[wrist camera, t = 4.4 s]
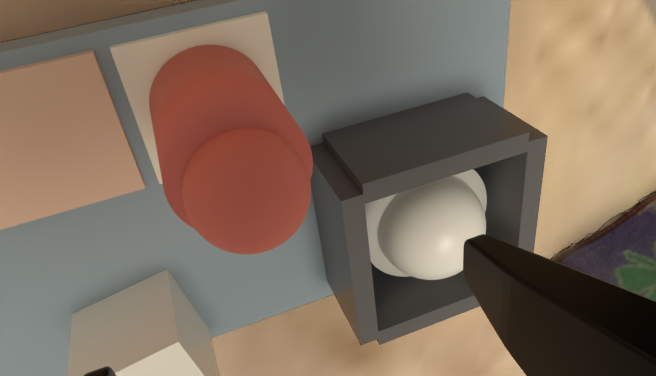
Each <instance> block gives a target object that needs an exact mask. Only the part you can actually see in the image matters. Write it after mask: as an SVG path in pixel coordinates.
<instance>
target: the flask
mask: <svg viewBox="0 0 656 376" xmlns="http://www.w3.org/2000/svg"><path fill="white" fill-rule="evenodd" d="M639 202H641V203H640V204H637V205H636V206H634V207H632V208H631V209H629V210H628V211H624V213H620V214H619V215H617V216H615V217H612V219H611V220H609V221H607V222H606V223H605V224H603V226H602V227H601V229H600V230H599V231H598V232H597V233H594V234H590V233H589V234H588V235H587V236H586V237H585V238H584V240H582V241H581V242H579V243H576V244H572V246H570V247H569V248H568V249H565V250H564V251H562V252H560V253H557V254H555V255H554V256H553V258H552V259H551V260H553V261H555V262H558V263H560V264H563V265H565V266H568V267H570V268H573V269H575V270H578V271H580V272H583V273H585V274H588V275H591V276H593V277H596V278H598V279H601V280H603V281H606V282H608V283H611V284H613V285H616V286H618V287H621V288H623V289H626V290H628V291H631V292H634V293H636V294H639V295H641V296H644V297H646V298H649V299H651V300H654V301H656V193H652V194H651V195H649V196H647V197H644V198H643V199H641V200H639Z"/></svg>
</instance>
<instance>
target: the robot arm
mask: <svg viewBox="0 0 656 376" xmlns="http://www.w3.org/2000/svg"><path fill="white" fill-rule="evenodd" d="M463 274H464V278H465V280H466V283H467V284H468V286H469V288H470V289H471V291H472V293H473V294H474V296H475V298H476V299H477V301H478V303H479V304H480V306H481V308H482V309H483V311H484V313H485V314H486V316H487V318H488V319H489V321H490V323H491V324H492V326H493V328H494V330H495V331H496V333H497V335H498V336H499V338H500V339H501V341H502V343H503V344H504V346H505V347H506V349H507V350H508V351H509V353H510V354H511V356H512V357H513V358H514V360H515V361H516V362H517V364H518V365H519V366H520V368H521V369H522V370H523V371H524V373H525V374H526V375H527V376H656V301H654V300H651V299H649V298H646V297H644V296H641V295H639V294H636V293H634V292H631V291H628V290H626V289H623V288H621V287H618V286H616V285H613V284H611V283H608V282H606V281H603V280H601V279H598V278H596V277H593V276H591V275H588V274H585V273H583V272H580V271H578V270H575V269H573V268H570V267H568V266H565V265H563V264H560V263H558V262H555V261H553V260H550V259H548V258H545V257H543V256H540V255H537V254H535V253H532V252H530V251H527V250H525V249H522V248H520V247H517V246H515V245H512V244H510V243H507V242H505V241H502V240H500V239H497V238H494V237H492V236H489V235H486V234H481V235H478V236H475V237H472V238H470V239H467V240H466V241H465V243H464V247H463ZM84 376H116V374H115V373H114V371H113V369H111V368H110V367H108V366H106V367H102V368H100V369H97V370H94V371H91V372H88V373H86V374H85V375H84Z"/></svg>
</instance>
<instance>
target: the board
mask: <svg viewBox="0 0 656 376" xmlns="http://www.w3.org/2000/svg"><path fill="white" fill-rule="evenodd" d="M509 14H510V0H196V1H192V2H187V3H182V4H178V5H173V6H168V7H164V8H159V9H155V10H150V11H145V12H141V13H136V14H131V15H127V16H122V17H118V18H113V19H108V20H104V21H99V22H94V23H90V24H85V25H80V26H76V27H71V28H67V29H62V30H57V31H53V32H48V33H43V34H39V35H34V36H30V37H25V38H20V39H16V40H11V41H6V42H2V43H0V376H67V375H68V361H69V347H70V334H71V320H72V314H74V313H76V312H78V311H80V310H82V309H84V308H86V307H88V306H90V305H93V304H95V303H97V302H99V301H101V300H103V299H105V298H107V297H109V296H111V295H114V294H116V293H118V292H120V291H122V290H124V289H126V288H128V287H130V286H132V285H135V284H137V283H139V282H141V281H143V280H145V279H147V278H149V277H151V276H153V275H156V274H158V273H160V272H162V271H164V270H166V269H168V271H169V272H170V274H171V275H172V277H173V278H174V279H175V281H176V282H177V284H178V285H179V287H180V288H181V289H182V291H183V292H184V294H185V295H186V297H187V298H188V300H189V301H190V302H191V304H192V305H193V307H194V308H195V310H196V311H197V313H198V314H199V315H200V317H201V318H202V320H203V321H204V323H205V324H206V325H207V327H208V328H209V331H210V336H211V338H213V337H215V336H218V335H221V334H224V333H227V332H229V331H232V330H235V329H238V328H241V327H244V326H246V325H249V324H252V323H255V322H258V321H260V320H263V319H266V318H269V317H272V316H274V315H277V314H280V313H283V312H286V311H288V310H291V309H294V308H297V307H300V306H302V305H305V304H308V303H311V302H314V301H317V300H319V299H322V298H325V297H328V296H331V295H333V294H334V293H333V291H332V289H331V288H330V286H329V284H328V282H327V276H326V270H325V264H324V259H323V253H322V247H321V242H320V236H319V230H318V224H317V219H316V213H315V207H314V201H313V196H312V190H311V198H310V204H309V208H308V211H307V214H306V217H305V219H304V220H303V222H302V224H301V225H300V227H299V228H298V230H297V231H296V232H295V233H294V234H293V236H291V237H290V238H289V239H288V240H287V241H286V242H284V243H283V244H281V245H279V246H278V247H276V248H274V249H272V250H269V251H266V252H262V253H258V254H249V255H244V254H236V253H231V252H227V251H224V250H222V249H219V248H217V247H215V246H214V245H212V244H210V243H209V242H207V241H206V240H205V239H204V238H203V237H202V236H201V235H200V234H199V233H198V232H197V231H196V230H195V229H194V228H192V227H191V226H189V225H188V224H186V223H185V222H184V221H182V220H181V219H180V218H179V217H178V216H177V215H176V214H175V212H174V211H173V210H172V208H171V206H170V205H169V203H168V201H167V198H166V196H165V192H164V188H163V183H162V177H161V171H160V166H159V160H158V154H157V148H156V143H155V137H154V131H153V125H152V120H151V114H150V107H149V95H150V90H151V86H152V83H153V81H154V78H155V77H156V75H157V73H158V71H159V70H160V69H161V67H162V66H163V65H164V64H165V63H166V62H167V61H168V60H169V59H171V58H172V57H173V56H175V55H176V54H178V53H180V52H181V51H184V50H186V49H188V48H192V47H195V46H201V45H220V46H225V47H229V48H232V49H234V50H237V51H239V52H240V53H242V54H244V55H245V56H247V57H248V58H249V59H251V60H252V61H253V62H254V63H255V64H256V66H257V67H258V68H259V70H260V71H261V73H262V74H263V75H264V77H265V78H266V80H267V81H268V83H269V84H270V85H271V87H272V88H273V90H274V91H275V93H276V94H277V95H278V97H279V98H280V100H281V101H282V103H283V104H284V106H285V107H286V108H287V110H288V111H289V113H290V114H291V116H292V117H293V118H294V120H295V121H296V123H297V124H298V126H299V127H300V128H301V130H302V131H303V133H304V134H305V136H306V138H307V140H308V142H309V145H310V146H314V145H317V144H321V143H323V136H322V134H323V133H326V132H330V131H333V130H337V129H340V128H344V127H347V126H351V125H354V124H358V123H361V122H365V121H368V120H372V119H375V118H379V117H382V116H386V115H389V114H393V113H396V112H400V111H403V110H407V109H410V108H414V107H417V106H421V105H424V104H428V103H432V102H435V101H439V100H442V99H446V98H449V97H453V96H456V95H460V94H463V93H467V92H468V93H469V94H471V95H472V96H474V97H476V98H480V97H483V96H484V97H486V98H487V99H489V100H491V101H492V102H494V103H496V104H497V105H499V106H500V107H502V108H503V105H504V90H505V75H506V59H507V44H508V29H509Z"/></svg>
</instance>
